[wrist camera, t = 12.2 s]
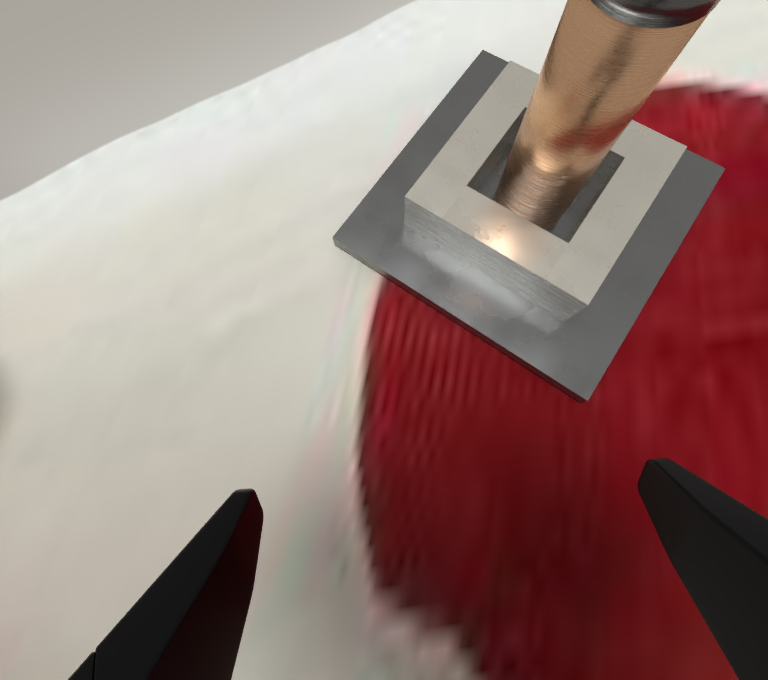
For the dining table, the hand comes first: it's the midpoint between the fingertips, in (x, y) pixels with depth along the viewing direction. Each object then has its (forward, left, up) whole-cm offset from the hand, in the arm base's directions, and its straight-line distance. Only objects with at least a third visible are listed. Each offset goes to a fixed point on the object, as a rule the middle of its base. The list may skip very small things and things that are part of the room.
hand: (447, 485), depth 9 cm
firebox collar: (+3, -17, -13) cm, 22 cm away
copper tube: (+3, -17, -12) cm, 21 cm away
